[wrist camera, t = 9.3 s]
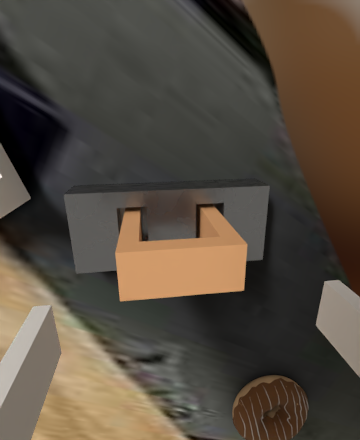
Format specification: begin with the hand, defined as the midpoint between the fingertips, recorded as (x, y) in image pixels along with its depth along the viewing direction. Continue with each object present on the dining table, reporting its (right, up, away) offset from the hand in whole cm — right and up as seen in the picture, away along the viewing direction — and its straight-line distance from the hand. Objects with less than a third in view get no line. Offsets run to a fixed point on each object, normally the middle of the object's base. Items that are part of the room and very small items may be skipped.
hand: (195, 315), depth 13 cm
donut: (+11, -21, +26) cm, 35 cm away
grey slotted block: (-2, +5, +15) cm, 16 cm away
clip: (-2, +5, +14) cm, 15 cm away
